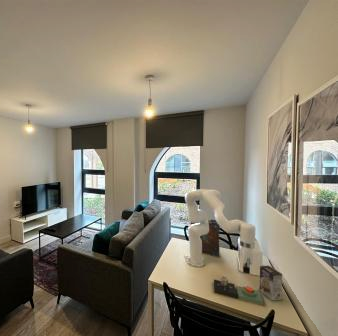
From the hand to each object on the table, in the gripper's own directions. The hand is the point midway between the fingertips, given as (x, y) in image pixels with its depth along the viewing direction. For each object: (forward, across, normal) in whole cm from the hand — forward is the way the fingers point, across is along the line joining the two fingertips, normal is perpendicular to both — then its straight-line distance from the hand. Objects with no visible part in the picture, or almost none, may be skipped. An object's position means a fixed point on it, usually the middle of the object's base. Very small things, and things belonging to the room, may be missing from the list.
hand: (246, 272), depth 117 cm
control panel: (+14, +2, -12) cm, 18 cm away
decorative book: (+15, -46, -23) cm, 54 cm away
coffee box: (+14, -5, +13) cm, 20 cm away
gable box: (+14, -36, +8) cm, 39 cm away
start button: (+10, +2, +1) cm, 10 cm away
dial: (+11, +2, -12) cm, 16 cm away
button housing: (+14, +2, +1) cm, 14 cm away
